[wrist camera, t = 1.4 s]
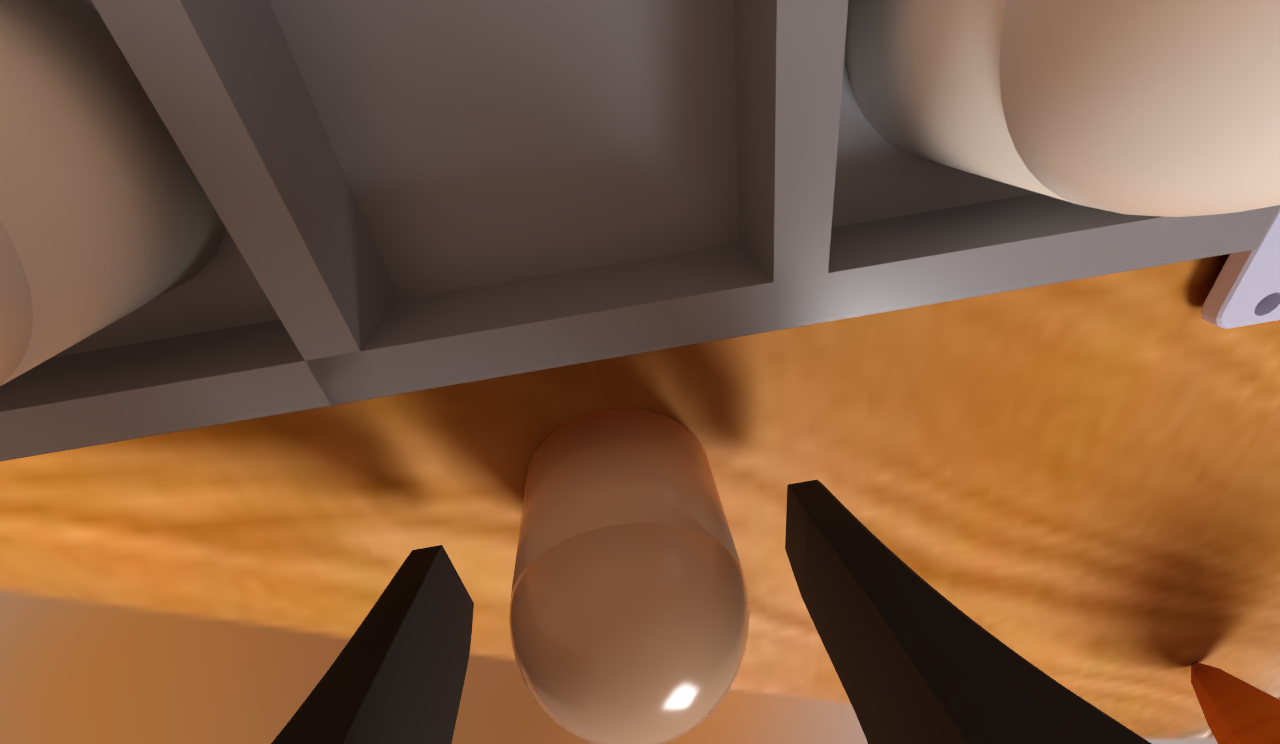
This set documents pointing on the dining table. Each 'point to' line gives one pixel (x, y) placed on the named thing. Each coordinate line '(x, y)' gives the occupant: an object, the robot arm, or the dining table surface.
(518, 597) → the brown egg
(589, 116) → the egg carton
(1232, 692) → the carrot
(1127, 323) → the dining table surface
